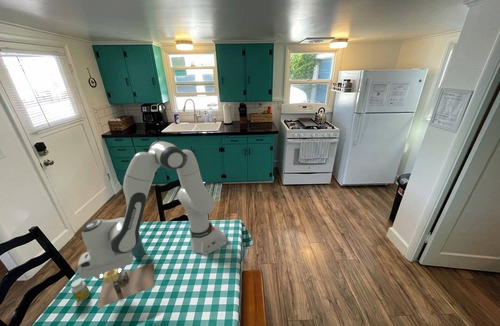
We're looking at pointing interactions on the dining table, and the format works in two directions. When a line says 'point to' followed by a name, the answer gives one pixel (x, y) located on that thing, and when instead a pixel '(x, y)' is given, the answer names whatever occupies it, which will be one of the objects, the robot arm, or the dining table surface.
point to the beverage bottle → (138, 249)
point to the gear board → (127, 285)
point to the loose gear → (111, 276)
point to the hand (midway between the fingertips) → (111, 275)
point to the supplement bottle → (80, 290)
